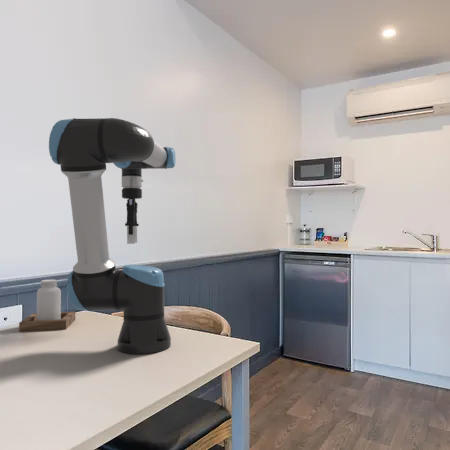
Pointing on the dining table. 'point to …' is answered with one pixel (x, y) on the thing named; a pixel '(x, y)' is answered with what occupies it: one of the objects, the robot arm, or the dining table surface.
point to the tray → (47, 323)
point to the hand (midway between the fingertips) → (132, 243)
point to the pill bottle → (49, 301)
